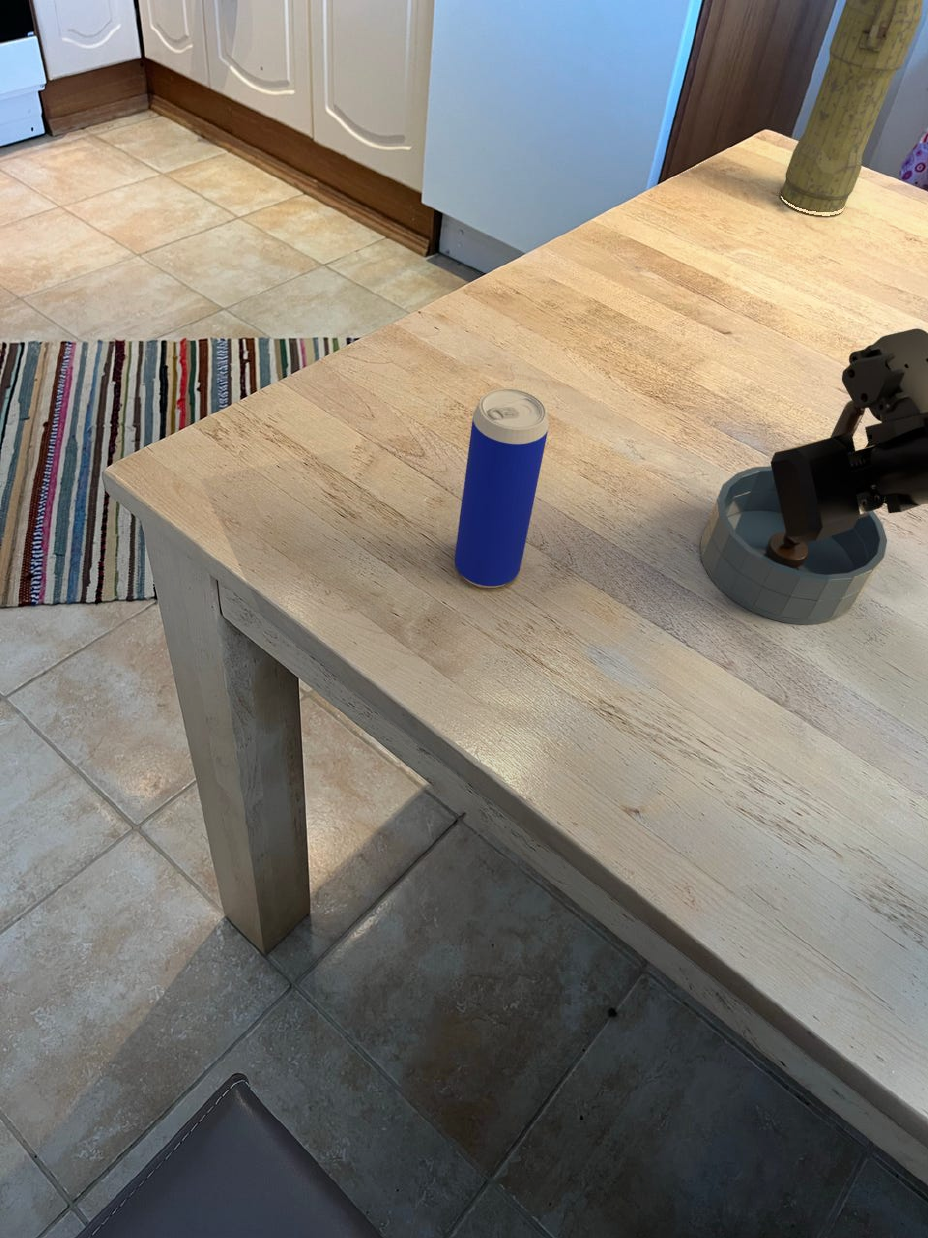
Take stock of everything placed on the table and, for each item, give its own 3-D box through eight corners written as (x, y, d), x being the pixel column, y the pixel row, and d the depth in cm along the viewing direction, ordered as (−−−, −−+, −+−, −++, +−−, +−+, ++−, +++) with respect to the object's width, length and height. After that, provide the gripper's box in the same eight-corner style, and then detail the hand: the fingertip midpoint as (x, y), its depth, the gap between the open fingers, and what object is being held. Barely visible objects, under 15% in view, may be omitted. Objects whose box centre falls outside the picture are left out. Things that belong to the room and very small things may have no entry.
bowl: (870, 544, 81) (895, 499, 77) (847, 648, 72) (875, 603, 68) (720, 492, 83) (738, 447, 80) (682, 586, 75) (700, 540, 71)
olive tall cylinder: (842, 190, 132) (965, -124, 106) (846, 227, 124) (980, -104, 98) (778, 178, 132) (885, -137, 106) (778, 213, 124) (894, -118, 99)
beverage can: (500, 539, 76) (528, 380, 65) (530, 582, 73) (565, 423, 62) (442, 554, 74) (461, 393, 63) (471, 599, 72) (496, 438, 60)
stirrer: (812, 563, 76) (891, 411, 66) (780, 572, 75) (854, 418, 65) (789, 537, 78) (862, 385, 67) (757, 545, 77) (826, 391, 66)
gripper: (1059, 295, 61) (868, 356, 75) (849, 346, 54) (682, 402, 68) (1090, 465, 62) (896, 492, 77) (889, 536, 55) (717, 551, 70)
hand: (803, 481), depth 73 cm, fingers closed on stirrer
